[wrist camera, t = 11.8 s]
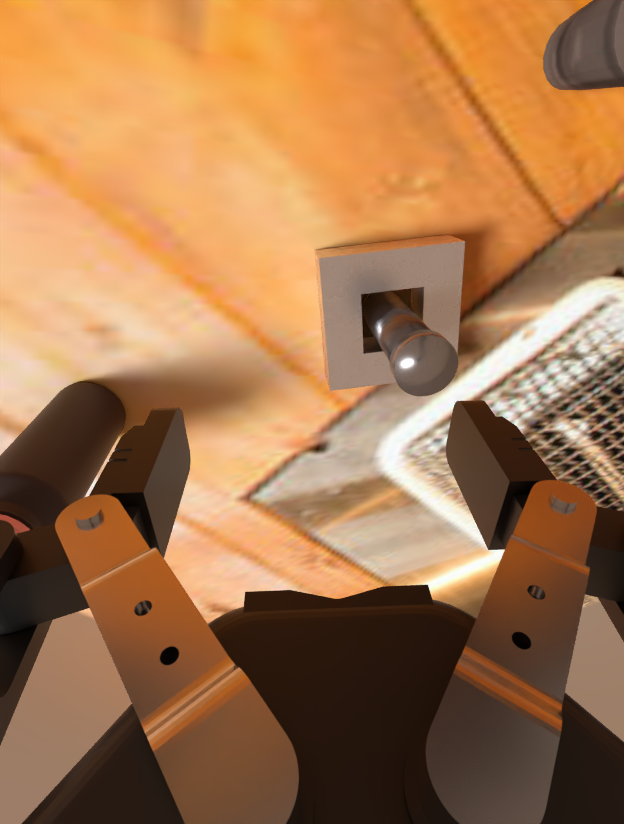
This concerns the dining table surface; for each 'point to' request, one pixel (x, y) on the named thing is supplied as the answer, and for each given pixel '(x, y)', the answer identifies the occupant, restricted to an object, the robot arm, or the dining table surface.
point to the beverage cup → (588, 48)
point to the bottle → (58, 455)
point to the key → (410, 345)
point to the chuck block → (377, 272)
